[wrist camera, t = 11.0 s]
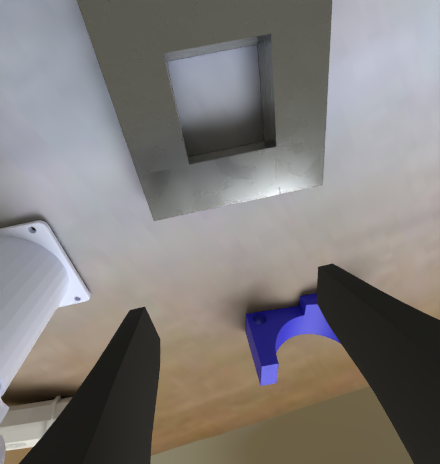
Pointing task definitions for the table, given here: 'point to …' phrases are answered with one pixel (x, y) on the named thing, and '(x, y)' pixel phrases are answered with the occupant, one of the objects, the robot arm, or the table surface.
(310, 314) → the blue bearing cradle
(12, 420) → the angle grinder
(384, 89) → the table surface
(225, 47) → the socket block
